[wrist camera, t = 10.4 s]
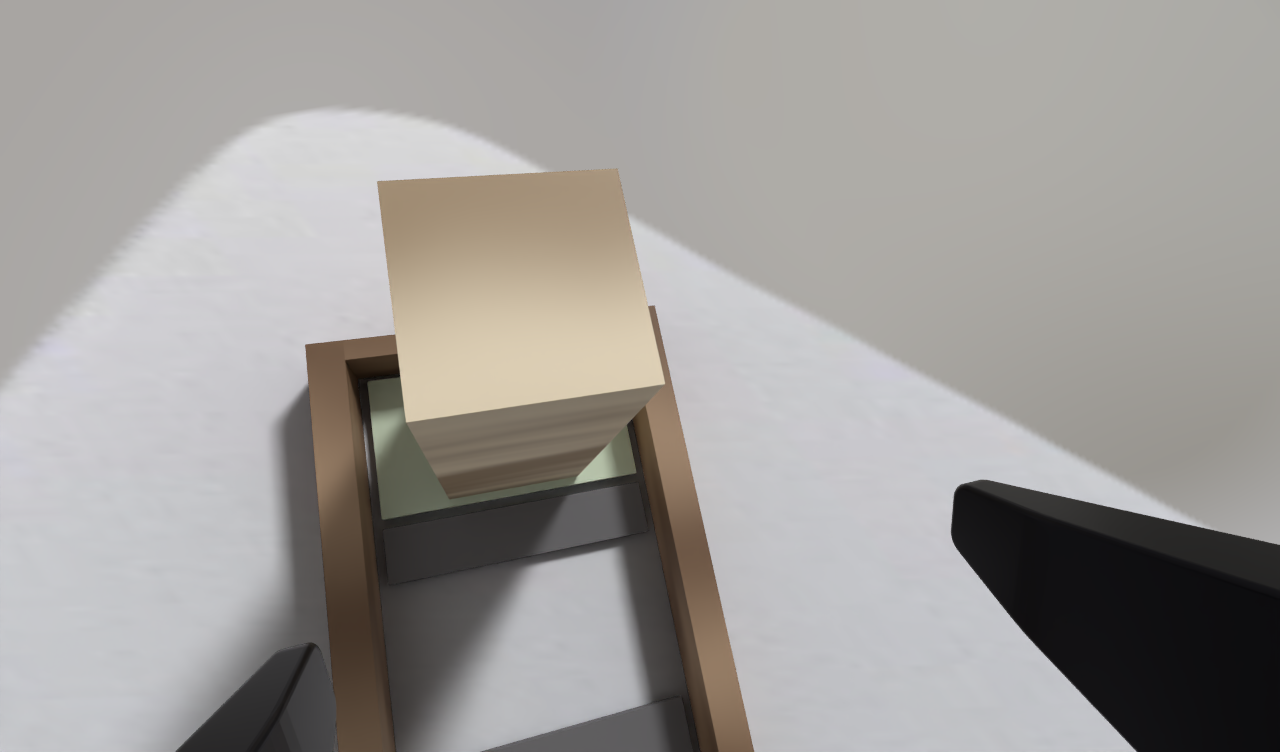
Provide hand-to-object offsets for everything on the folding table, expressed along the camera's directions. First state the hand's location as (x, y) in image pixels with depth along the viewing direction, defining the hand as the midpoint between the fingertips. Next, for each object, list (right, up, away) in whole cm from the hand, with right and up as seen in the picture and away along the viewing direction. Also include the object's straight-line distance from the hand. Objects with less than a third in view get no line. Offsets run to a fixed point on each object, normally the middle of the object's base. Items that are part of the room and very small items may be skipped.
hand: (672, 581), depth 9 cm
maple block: (-5, +1, +12) cm, 13 cm away
